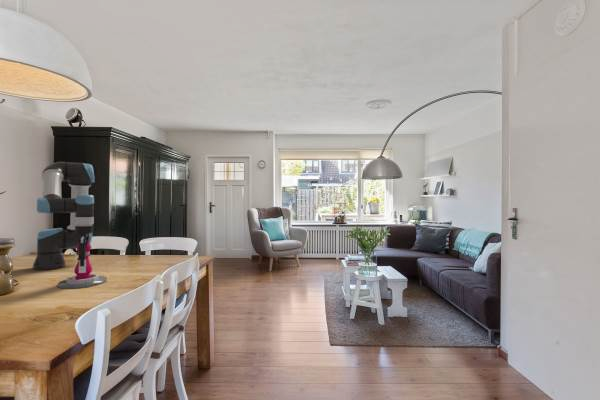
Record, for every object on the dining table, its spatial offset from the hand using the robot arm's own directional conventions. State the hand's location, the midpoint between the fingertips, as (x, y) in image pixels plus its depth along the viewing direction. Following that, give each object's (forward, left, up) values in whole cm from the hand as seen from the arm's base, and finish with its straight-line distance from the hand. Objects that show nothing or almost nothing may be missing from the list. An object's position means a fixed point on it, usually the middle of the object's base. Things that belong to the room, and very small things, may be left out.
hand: (83, 270), depth 149 cm
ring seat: (0, 0, -6) cm, 6 cm away
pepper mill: (0, 0, -4) cm, 4 cm away
